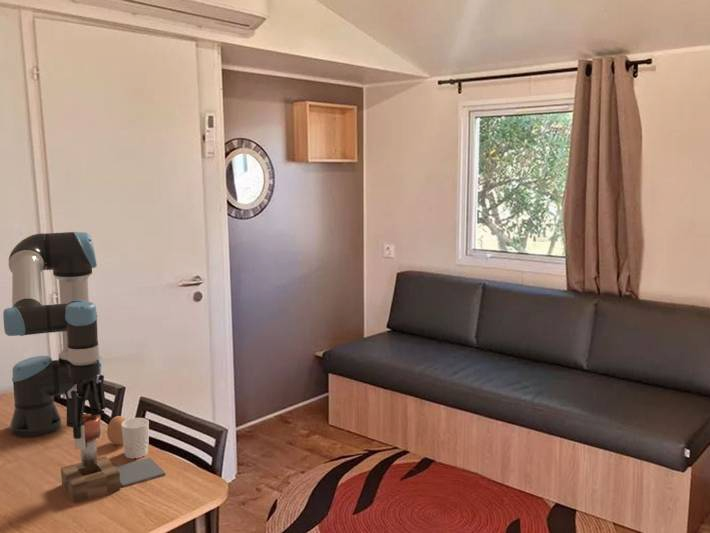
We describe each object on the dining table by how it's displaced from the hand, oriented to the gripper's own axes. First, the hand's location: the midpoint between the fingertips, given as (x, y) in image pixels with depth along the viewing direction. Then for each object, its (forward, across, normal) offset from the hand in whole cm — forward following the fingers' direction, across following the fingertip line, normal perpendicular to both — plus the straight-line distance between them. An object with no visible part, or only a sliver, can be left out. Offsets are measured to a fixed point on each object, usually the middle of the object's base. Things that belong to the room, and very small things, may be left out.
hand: (88, 442), depth 178 cm
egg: (+13, -26, -8) cm, 30 cm away
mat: (+13, -10, +8) cm, 18 cm away
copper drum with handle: (+6, 0, 0) cm, 6 cm away
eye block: (+13, 0, 0) cm, 13 cm away
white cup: (+13, -21, +1) cm, 25 cm away
